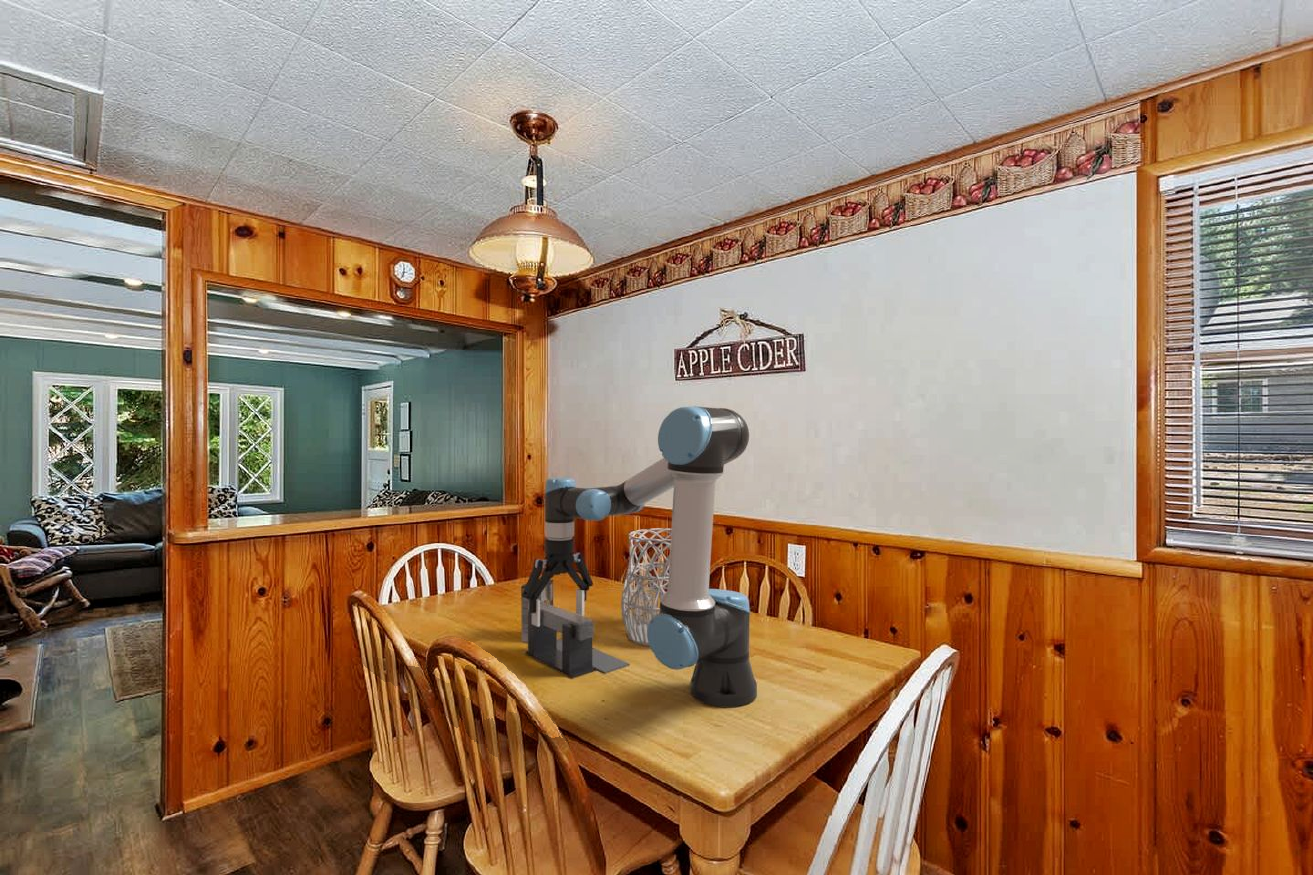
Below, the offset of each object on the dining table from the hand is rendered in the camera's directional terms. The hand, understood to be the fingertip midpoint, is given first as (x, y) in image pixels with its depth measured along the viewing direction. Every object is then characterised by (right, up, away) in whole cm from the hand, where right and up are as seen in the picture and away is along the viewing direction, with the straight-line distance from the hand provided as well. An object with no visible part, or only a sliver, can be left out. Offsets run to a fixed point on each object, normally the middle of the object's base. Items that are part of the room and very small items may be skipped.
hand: (558, 619), depth 156 cm
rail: (0, -2, 0) cm, 2 cm away
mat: (+6, -11, +5) cm, 14 cm away
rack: (0, -11, 0) cm, 11 cm away
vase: (+27, -11, +21) cm, 36 cm away
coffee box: (-9, -11, +19) cm, 23 cm away
